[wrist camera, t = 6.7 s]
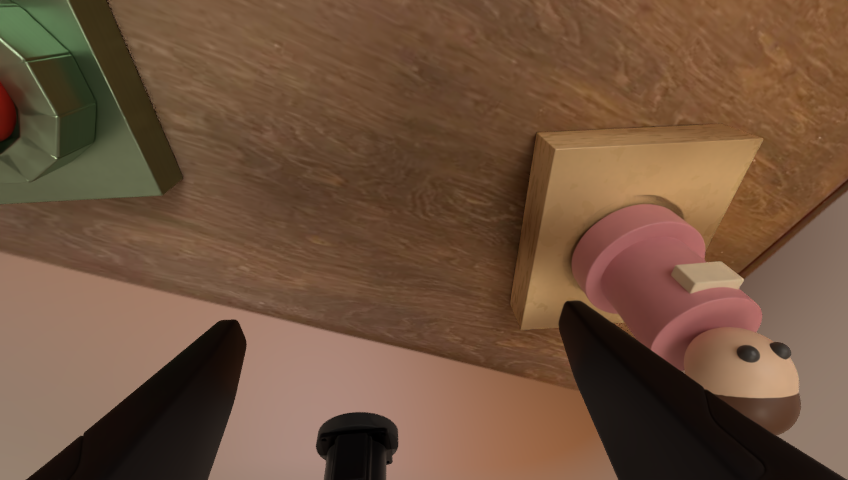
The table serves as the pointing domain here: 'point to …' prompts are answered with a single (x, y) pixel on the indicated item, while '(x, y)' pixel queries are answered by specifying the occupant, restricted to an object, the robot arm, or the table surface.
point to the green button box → (76, 108)
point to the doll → (687, 310)
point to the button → (6, 114)
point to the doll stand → (616, 198)
